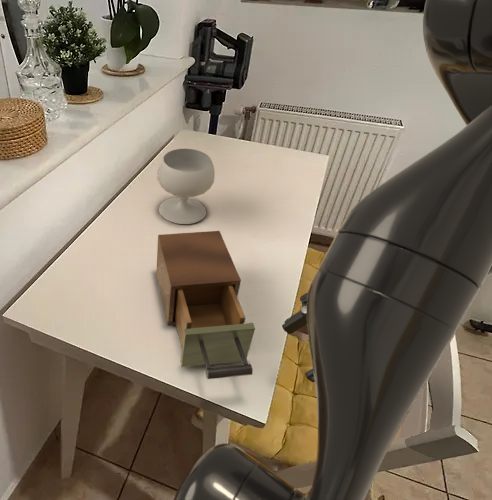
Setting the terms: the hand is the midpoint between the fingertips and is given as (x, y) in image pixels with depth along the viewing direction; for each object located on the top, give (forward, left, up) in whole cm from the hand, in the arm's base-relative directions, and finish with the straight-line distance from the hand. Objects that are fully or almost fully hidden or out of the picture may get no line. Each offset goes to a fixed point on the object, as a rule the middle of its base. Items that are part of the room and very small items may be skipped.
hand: (296, 353), depth 63 cm
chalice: (+55, +5, -13) cm, 57 cm away
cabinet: (+25, +9, -13) cm, 29 cm away
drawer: (+11, +9, -12) cm, 18 cm away
